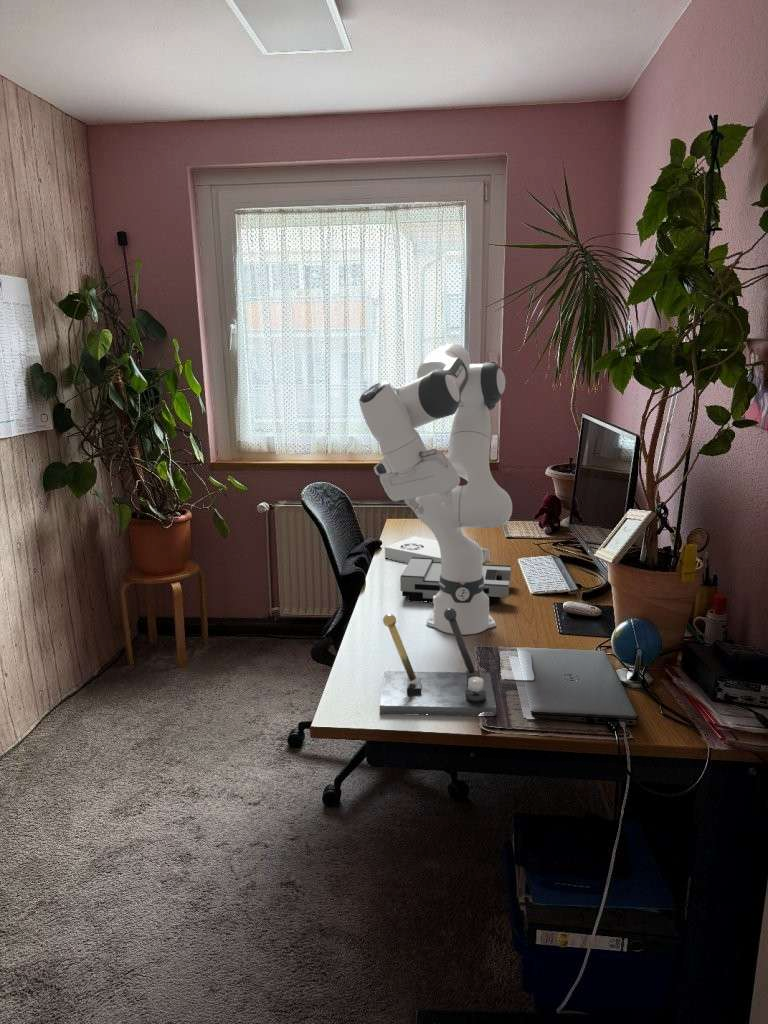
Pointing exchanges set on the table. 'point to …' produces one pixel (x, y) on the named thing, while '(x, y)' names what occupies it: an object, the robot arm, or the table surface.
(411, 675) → the brass lever
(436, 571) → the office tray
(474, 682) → the grey button
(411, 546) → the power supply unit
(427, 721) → the table surface
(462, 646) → the black lever
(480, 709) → the switch panel
